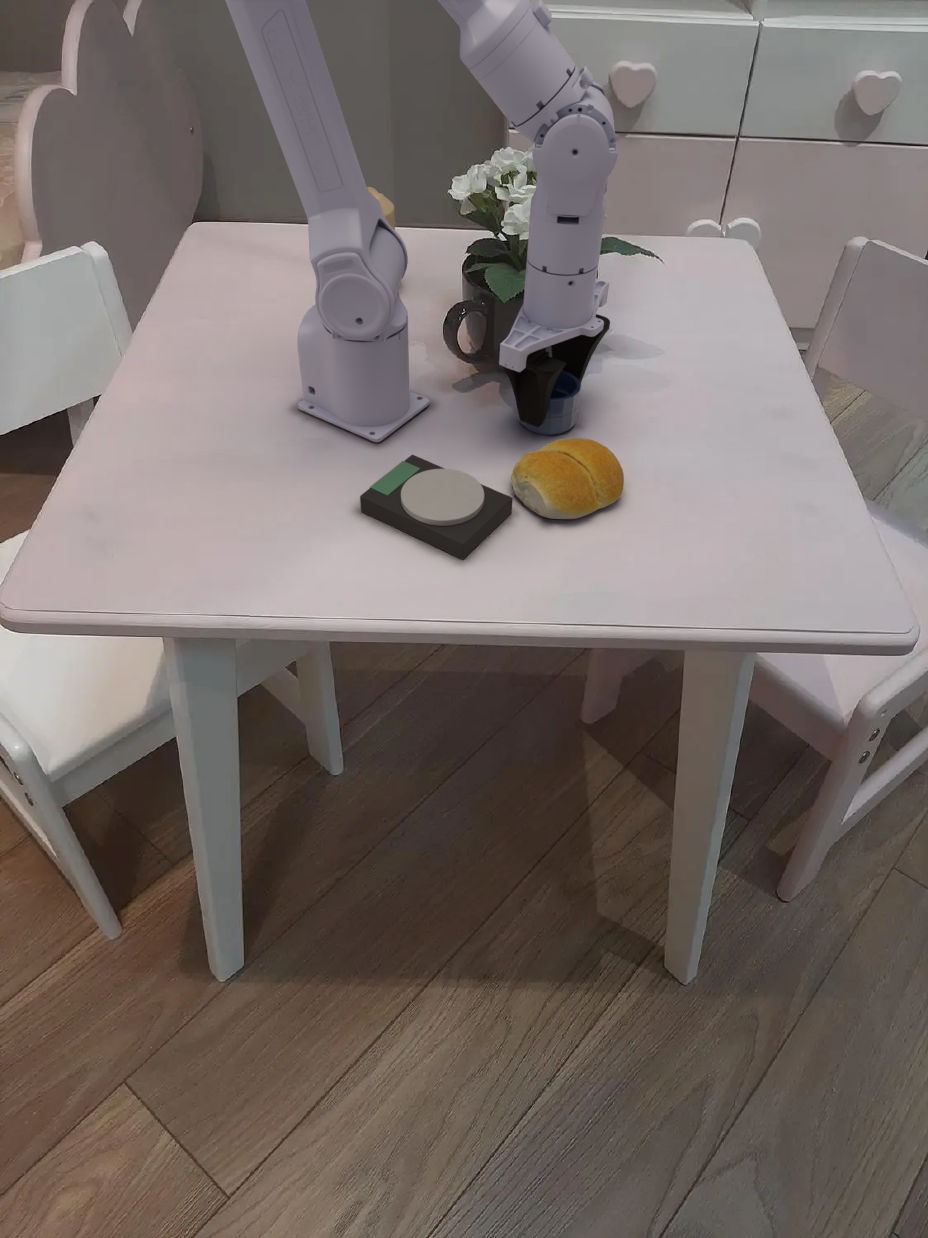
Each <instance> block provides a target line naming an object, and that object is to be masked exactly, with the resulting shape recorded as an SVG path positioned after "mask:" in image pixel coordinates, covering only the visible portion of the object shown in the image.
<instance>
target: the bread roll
mask: <svg viewBox="0 0 928 1238" xmlns="http://www.w3.org/2000/svg"><path fill="white" fill-rule="evenodd" d="M510 479H511V486H512V490H513V493H514V495H515V496H516V497H517V498H518V499H519V500H520V501H521V502H522V503H523V504H524V506H525V507H527V508H528V509H529V510H531V511H532V512H533V513H535V514H537V515H539V516H541V517H544V518H547V519H551V520H556V519H557V520H575V519H580V518H582V517H583V518H584V517H585V516H588V515H590V514H592V513H594V512H596V511H598V510H599V509H604V508H606V507H608V506H610V505H611V504H613V503H615V502H617V501H618V500H619V499H620V498H621V496H622V493H623V490H624V485H625V482H624V481H625V479H624V471H623V468H622V465H621V463H620V460H619V459H618V458H617V456H616V455H615V453H613V452H612V451H611V449H609V447H607V446H606V445H604V444H602V443H600V442H598V441H596V440H593V439H590V438H585V437H571V438H560V439H556V440H554V441H553V440H552V441H551V442H549V443H547V444H545V445H544V446H542V447H540V448H539V449H537V450H533V451H530V452H527V453H524V454H523V455H522V456H521V457H520V459H518V461H517V462H516V464H515V465H514V468H513V469H512V474H511V477H510Z"/></svg>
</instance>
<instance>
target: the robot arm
mask: <svg viewBox="0 0 928 1238" xmlns="http://www.w3.org/2000/svg"><path fill="white" fill-rule="evenodd" d="M224 1H225V3H226V6H227V9H228V11H229V14H230V16H231V19H232V22H233V24H234V27H235V30H236V32H237V36H238V38H239V40H240V43H241V45H242V48H243V52H244V54H245V56H246V59H247V62H248V64H249V67H250V70H251V72H252V75H253V77H254V80H255V83H256V85H257V89H258V91H259V93H260V96H261V99H262V101H263V104H264V106H265V110H266V111H267V115H268V117H269V120H270V122H271V125H272V128H273V130H274V134H275V136H276V138H277V141H278V145H279V147H280V149H281V151H282V154H283V157H284V160H285V162H286V165H287V167H288V170H289V174H290V176H291V178H292V181H293V183H294V186H295V189H296V191H297V194H298V197H299V200H300V202H301V204H302V207H303V210H304V213H305V215H306V218H307V225H308V228H307V229H308V252H309V253H308V254H309V261H310V264H311V267H312V269H313V272H314V275H315V280H316V283H315V284H316V285H315V286H316V287H315V295H314V303H315V304H314V305H312V306H311V307H310V308H309V309H308V310H307V311H306V312H305V314H304V316H303V318H302V319H301V322H300V324H299V328H298V332H297V338H296V339H297V340H296V345H297V354H298V363H299V371H300V380H301V381H300V382H301V389H302V400H300V401H298V403H297V408H298V410H300V411H303V412H305V413H307V414H310V415H311V416H314V417H316V418H319V419H321V420H323V421H325V422H328V423H330V424H332V425H335V426H337V427H340V428H342V429H344V430H346V431H347V432H348V431H349V432H351V433H353V434H355V435H358V436H360V437H362V438H365V439H366V440H368V441H371V442H374V443H380V442H382V441H384V440H385V439H386V438H387V437H388V436H390V435H391V434H392V433H394V432H395V431H396V430H398V429H399V428H400V427H402V426H403V425H404V424H406V423H407V422H408V421H410V420H411V419H413V418H414V417H415V416H416V415H418V414H419V413H420V412H422V411H423V410H424V409H426V408H427V407H428V406H429V405H430V398H428V397H426V396H424V395H421V394H418V393H416V392H414V391H412V390H410V356H409V355H410V354H409V353H410V352H409V349H410V348H409V313H408V309H407V307H406V305H405V304H404V302H403V301H402V298H401V297H400V296H401V295H400V294H399V290H400V285H401V282H402V280H403V278H404V277H405V274H406V271H407V269H408V264H409V257H408V249H407V246H406V243H405V242H404V240H403V238H402V237H401V235H400V234H399V233H398V232H397V231H396V229H395V230H394V229H393V228H392V227H391V226H390V224H389V223H388V222H387V220H386V218H385V216H384V214H383V211H382V208H381V205H380V202H379V201H378V200H377V199H376V198H375V197H374V196H373V195H372V194H371V193H370V192H369V190H368V189H367V187H368V186H367V184H366V181H365V178H364V176H363V172H362V169H361V166H360V163H359V160H358V156H357V154H356V150H355V147H354V145H353V141H352V138H351V135H350V132H349V129H348V126H347V123H346V119H345V117H344V114H343V110H342V108H341V104H340V102H339V98H338V96H337V91H336V89H335V87H334V86H335V85H334V83H333V81H332V77H331V74H330V70H329V69H328V68H329V67H328V64H327V62H326V59H325V56H324V53H323V50H322V47H321V43H320V41H319V37H318V34H317V31H316V28H315V25H314V22H313V19H312V16H311V13H310V10H309V6H308V4H307V1H306V0H224ZM436 1H437V2H438V3H439V4H440V5H441V6H442V8H443V9H444V10H445V11H446V13H447V14H448V15H449V16H450V17H451V18H452V20H453V21H454V22H455V24H456V25H457V26H458V27H459V31H460V35H459V36H460V38H459V60H460V61H461V62H462V63H463V65H464V66H465V67H466V68H467V70H468V71H469V72H470V73H471V75H472V76H473V77H474V78H475V80H476V81H477V82H478V84H479V85H480V86H481V87H482V89H483V90H484V91H485V92H486V94H487V95H488V96H489V98H490V99H491V100H492V101H493V103H494V104H495V106H497V108H498V109H499V110H500V112H501V113H502V114H503V115H504V117H505V118H506V119H507V120H508V122H509V123H510V125H512V126H513V128H514V129H515V131H516V132H517V133H518V134H520V135H522V136H524V137H525V138H527V139H528V140H530V141H531V142H532V143H534V147H533V148H532V150H531V152H532V153H531V154H532V155H531V156H532V163H533V166H534V169H535V171H536V184H535V191H534V193H533V194H532V197H531V200H530V210H529V211H530V212H529V226H528V237H527V250H526V251H527V252H526V265H525V275H524V276H525V278H524V290H523V291H524V293H523V304H522V305H521V307H520V309H519V311H518V313H517V316H516V318H515V320H514V322H513V325H512V326H511V329H510V331H509V333H508V335H507V337H506V338H505V339H504V340H503V341H502V342H500V344H499V346H498V348H497V360H498V364H499V366H501V367H502V368H503V369H504V372H505V373H506V375H507V377H508V380H509V382H510V384H511V387H512V391H513V395H514V399H515V403H516V404H515V405H516V409H517V415H518V414H519V418H520V420H519V422H520V421H523V422H525V423H528V424H530V425H533V426H536V427H540V426H541V425H542V424H543V422H544V420H545V418H546V415H547V411H548V406H549V401H550V397H551V393H552V390H553V387H554V384H555V382H556V380H557V378H558V376H559V374H560V372H561V371H562V370H564V371H567V372H569V373H571V374H573V375H574V376H575V377H577V378H578V380H579V381H580V383H581V384H582V382H583V379H584V376H585V373H586V371H587V368H588V366H589V364H590V361H591V359H592V357H593V355H594V352H595V351H596V349H597V347H598V345H599V344H600V342H601V341H602V339H603V338H604V336H605V335H606V334H607V333H608V331H610V326H611V320H610V319H609V318H608V317H606V316H604V315H602V314H598V311H599V308H601V307H602V308H603V307H604V306H605V305H606V304H607V303H608V297H609V289H610V282H608V281H605V280H603V279H599V278H598V271H599V264H600V257H601V250H602V249H601V248H602V241H603V240H602V239H603V233H604V225H605V219H606V218H605V217H606V210H607V203H606V199H605V195H606V193H607V190H608V184H609V177H610V175H611V174H612V172H613V170H614V169H615V166H616V164H617V160H618V154H619V153H618V152H617V149H616V148H617V140H616V130H615V118H614V113H613V108H612V106H611V104H610V102H609V100H608V98H607V97H606V93H605V88H604V87H602V86H601V84H598V83H597V82H595V81H594V75H593V74H592V72H591V71H590V70H589V68H588V67H587V66H586V65H584V66H582V67H581V68H579V66H578V65H577V64H576V63H575V62H574V60H573V59H572V57H571V55H569V53H568V52H567V50H566V48H564V46H563V45H562V44H561V42H560V41H559V39H558V38H557V36H556V35H555V34H554V32H553V31H552V29H551V28H550V27H549V25H550V24H551V22H552V18H553V17H552V16H553V15H552V12H551V11H550V9H549V7H548V6H547V5H546V4H545V3H544V1H543V0H537V1H536V2H535V3H534V4H533V2H531V1H530V0H436ZM548 347H550V349H551V356H550V351H549V350H548V351H547V348H548ZM519 418H518V419H519Z"/></svg>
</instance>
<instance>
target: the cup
mask: <svg viewBox="0 0 928 1238" xmlns="http://www.w3.org/2000/svg"><path fill="white" fill-rule="evenodd" d="M581 390H582V382H581V383H580V381H579V380H578V378H577V377H575V376H574V375H573V374H571V373H569V372H567V371H564V370H562V371H561V372H560V374H559V376H558V378H557V380H556V382H555V384H554V387H553V390H552V393H551V397H550V401H549V406H548V411H547V415H546V418H545V420H544V422H543V424H542V425H541V426H540V427H536V426H533V425H530V424H528V423H525V422H523V421H520V418H519V414H518V413H517V418H518V421H519V422H520V424H522V425H523V426H524V427H525V428H526V429H527V430H529V431H530V432H533V433H535V434H538V435H543V436H544V435H545V436H555V435H560V434H562V433H565V432H567V431H568V430H570V429H572V428H573V427H574V426H575V425H576V424H577V419H578V414H579V407H580V397H581Z"/></svg>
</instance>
